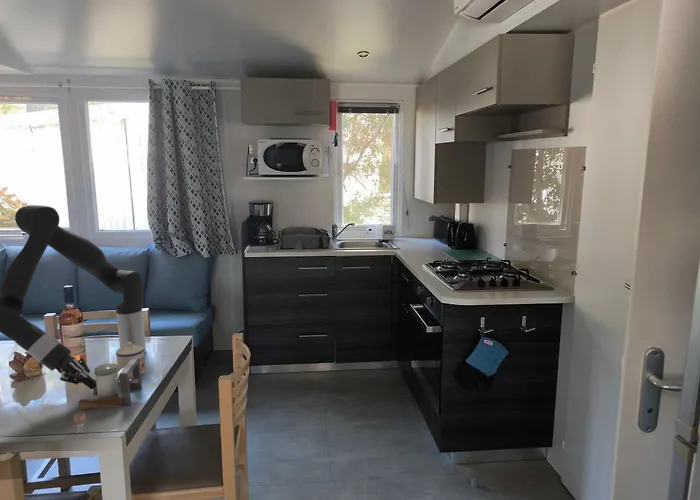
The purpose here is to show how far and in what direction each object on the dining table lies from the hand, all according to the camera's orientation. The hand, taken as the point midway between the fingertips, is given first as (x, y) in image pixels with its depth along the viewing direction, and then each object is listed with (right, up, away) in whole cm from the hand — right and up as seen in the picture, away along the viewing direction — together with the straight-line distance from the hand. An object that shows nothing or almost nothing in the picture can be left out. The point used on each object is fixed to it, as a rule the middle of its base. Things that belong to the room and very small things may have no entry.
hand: (95, 386), depth 153 cm
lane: (+4, -4, +1) cm, 6 cm away
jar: (+4, -4, +1) cm, 6 cm away
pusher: (+10, -3, +2) cm, 11 cm away
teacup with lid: (+3, -1, +21) cm, 21 cm away
